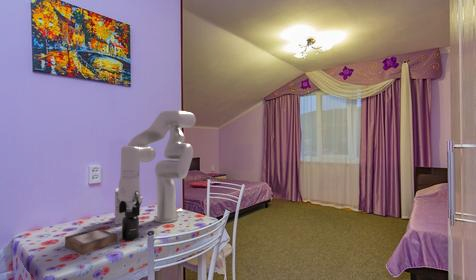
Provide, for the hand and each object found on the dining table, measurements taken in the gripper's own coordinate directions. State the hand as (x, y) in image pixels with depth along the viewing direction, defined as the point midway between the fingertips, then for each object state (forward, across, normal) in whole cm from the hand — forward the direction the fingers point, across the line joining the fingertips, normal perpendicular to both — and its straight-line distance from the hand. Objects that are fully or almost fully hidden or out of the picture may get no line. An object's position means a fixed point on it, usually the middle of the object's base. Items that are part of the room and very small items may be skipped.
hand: (129, 214), depth 112 cm
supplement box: (+10, -24, +13) cm, 29 cm away
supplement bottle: (+11, 0, +1) cm, 11 cm away
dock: (+11, -7, -12) cm, 18 cm away
